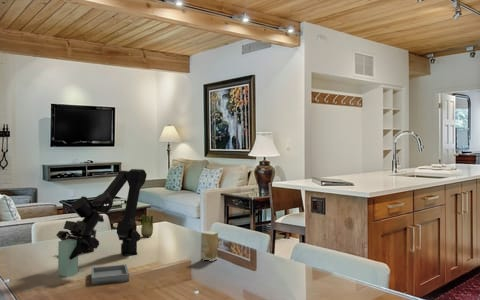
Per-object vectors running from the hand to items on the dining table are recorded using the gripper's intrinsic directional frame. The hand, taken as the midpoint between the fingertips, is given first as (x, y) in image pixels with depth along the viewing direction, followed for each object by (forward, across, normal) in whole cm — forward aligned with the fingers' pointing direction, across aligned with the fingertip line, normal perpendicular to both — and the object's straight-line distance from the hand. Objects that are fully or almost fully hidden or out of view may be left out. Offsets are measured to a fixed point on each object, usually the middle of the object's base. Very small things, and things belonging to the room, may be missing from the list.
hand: (65, 258), depth 154 cm
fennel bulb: (-42, -16, +51) cm, 68 cm away
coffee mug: (-15, -22, +25) cm, 36 cm away
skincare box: (-26, +38, +36) cm, 58 cm away
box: (0, +17, +9) cm, 19 cm away
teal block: (+4, 0, +6) cm, 7 cm away
